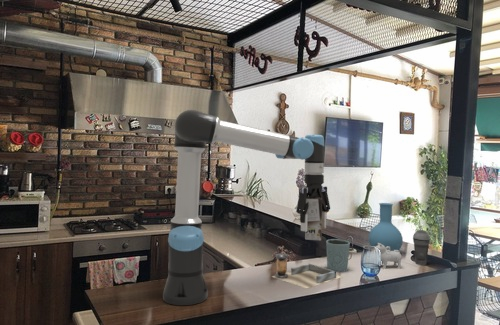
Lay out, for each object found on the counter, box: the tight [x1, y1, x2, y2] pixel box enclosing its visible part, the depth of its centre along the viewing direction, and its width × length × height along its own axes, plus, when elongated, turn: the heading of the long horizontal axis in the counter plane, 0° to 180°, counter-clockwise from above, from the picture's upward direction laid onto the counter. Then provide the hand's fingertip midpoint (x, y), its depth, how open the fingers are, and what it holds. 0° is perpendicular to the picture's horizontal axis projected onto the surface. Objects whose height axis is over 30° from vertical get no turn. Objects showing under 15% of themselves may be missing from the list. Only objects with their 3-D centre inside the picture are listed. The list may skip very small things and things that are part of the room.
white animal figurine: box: [375, 243, 403, 270], centre depth 173 cm, size 5×13×11 cm, turn 95°
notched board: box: [271, 263, 343, 289], centre depth 155 cm, size 22×18×4 cm
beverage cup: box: [412, 219, 431, 266], centre depth 179 cm, size 7×7×20 cm
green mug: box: [325, 238, 351, 273], centre depth 169 cm, size 10×10×12 cm
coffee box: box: [304, 197, 323, 241], centre depth 155 cm, size 9×6×16 cm
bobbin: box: [274, 252, 289, 279], centre depth 154 cm, size 5×5×9 cm
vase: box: [368, 202, 403, 251], centre depth 200 cm, size 16×16×25 cm
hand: (313, 229), depth 155 cm, fingers closed on coffee box, 11 cm apart
